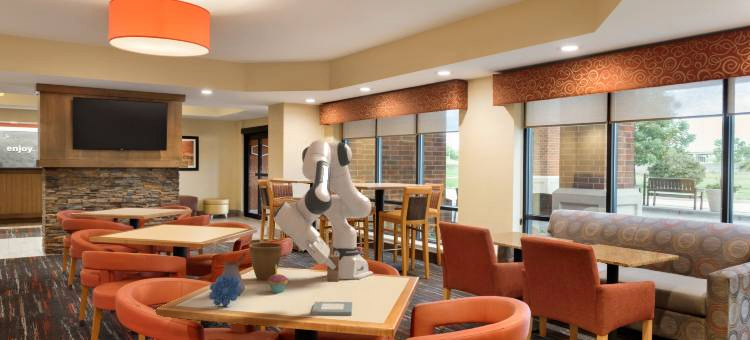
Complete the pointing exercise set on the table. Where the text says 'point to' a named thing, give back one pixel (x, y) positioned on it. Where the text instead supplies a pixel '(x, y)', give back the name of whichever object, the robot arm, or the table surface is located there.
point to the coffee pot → (234, 271)
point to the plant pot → (265, 259)
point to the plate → (332, 308)
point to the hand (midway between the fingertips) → (334, 266)
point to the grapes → (225, 290)
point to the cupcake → (277, 282)
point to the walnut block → (333, 274)
